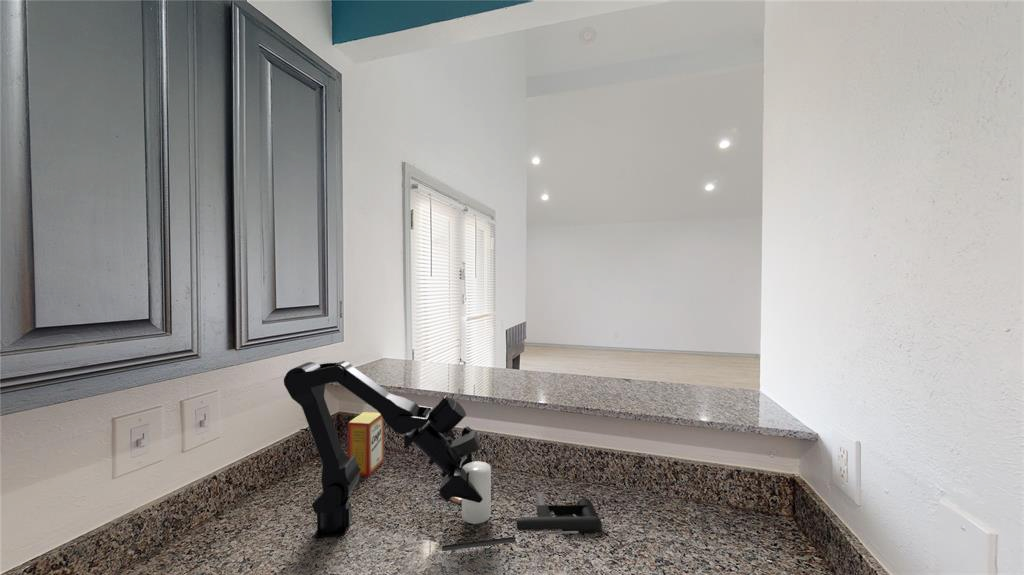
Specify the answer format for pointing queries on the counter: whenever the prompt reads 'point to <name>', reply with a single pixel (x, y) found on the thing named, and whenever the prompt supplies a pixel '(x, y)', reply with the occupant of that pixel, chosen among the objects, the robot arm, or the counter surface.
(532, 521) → the door handle
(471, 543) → the dark grey flat plate
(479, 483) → the white smooth rounded cylinder
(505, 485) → the counter surface
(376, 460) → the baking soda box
